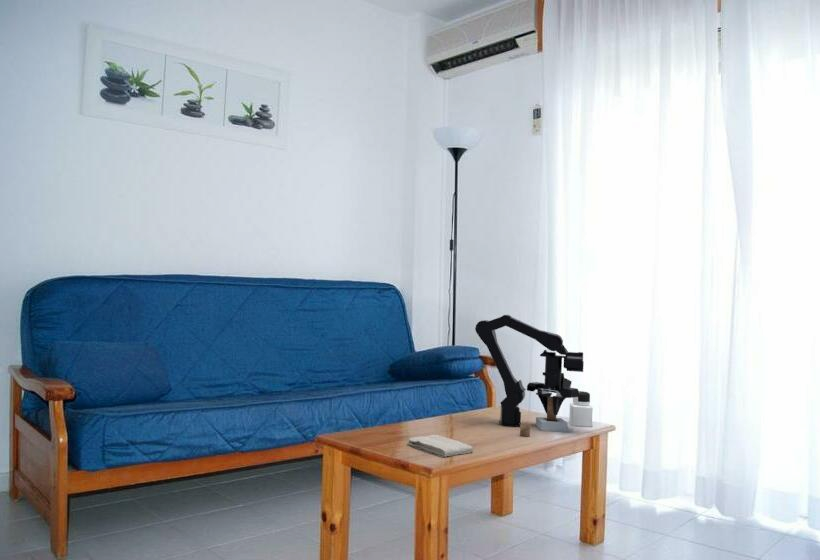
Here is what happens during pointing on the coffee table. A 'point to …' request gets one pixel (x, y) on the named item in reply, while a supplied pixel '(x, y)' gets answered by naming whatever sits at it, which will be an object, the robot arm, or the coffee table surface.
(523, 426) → the short stub
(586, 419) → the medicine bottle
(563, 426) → the collar block
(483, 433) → the coffee table surface
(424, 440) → the washcloth
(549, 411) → the long dowel
